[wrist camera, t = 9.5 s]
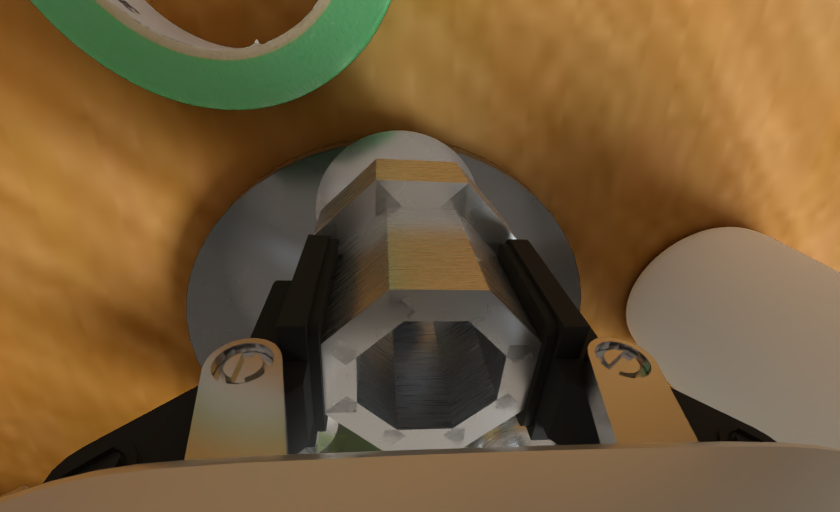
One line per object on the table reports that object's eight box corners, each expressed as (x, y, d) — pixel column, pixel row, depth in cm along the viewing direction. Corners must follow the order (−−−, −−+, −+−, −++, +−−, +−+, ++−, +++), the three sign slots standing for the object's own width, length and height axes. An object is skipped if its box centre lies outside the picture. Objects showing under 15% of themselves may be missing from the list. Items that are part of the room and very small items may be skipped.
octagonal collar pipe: (317, 155, 12) (269, 252, 7) (510, 164, 13) (604, 258, 7) (326, 316, 15) (296, 473, 9) (483, 316, 15) (537, 464, 10)
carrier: (113, 324, 19) (-20, 472, 12) (405, 27, 14) (428, 23, 8) (385, 480, 26) (388, 622, 20) (632, 321, 22) (737, 438, 15)
